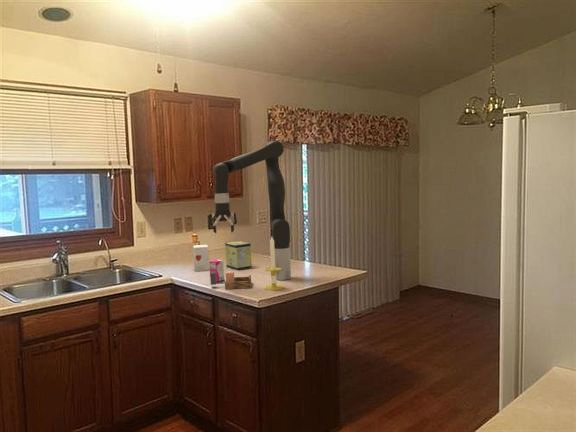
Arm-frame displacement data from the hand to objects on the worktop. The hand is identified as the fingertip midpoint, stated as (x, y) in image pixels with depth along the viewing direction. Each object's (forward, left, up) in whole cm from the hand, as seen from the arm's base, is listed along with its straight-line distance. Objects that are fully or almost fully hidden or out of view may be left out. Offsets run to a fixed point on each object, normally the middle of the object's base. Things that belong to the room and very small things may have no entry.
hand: (223, 232), depth 261 cm
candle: (-25, +11, -28) cm, 39 cm away
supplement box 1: (+19, -47, -28) cm, 58 cm away
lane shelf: (-6, +3, -28) cm, 29 cm away
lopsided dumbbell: (+2, +3, -26) cm, 27 cm away
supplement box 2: (+6, -12, -28) cm, 31 cm away
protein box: (-4, -48, -28) cm, 56 cm away
